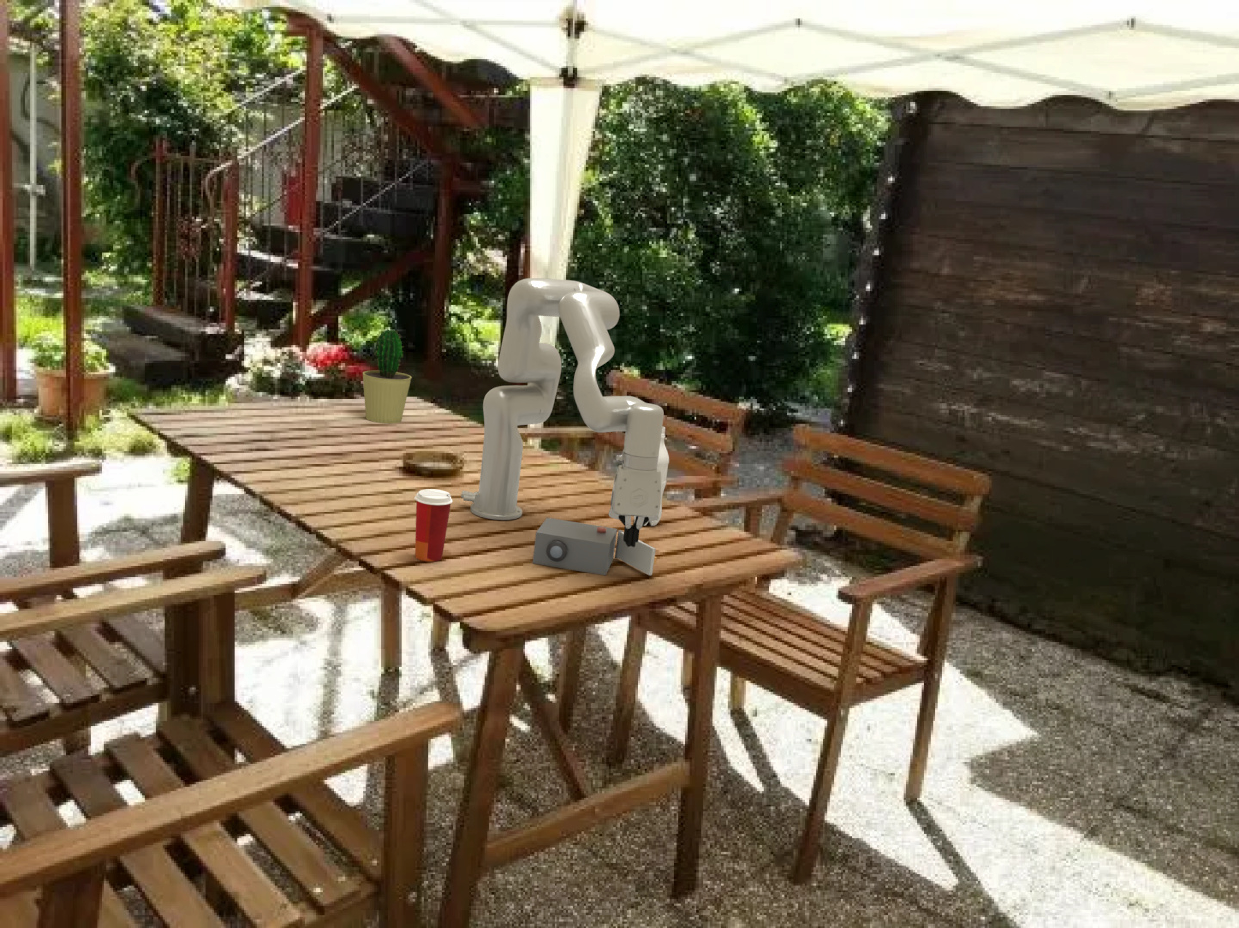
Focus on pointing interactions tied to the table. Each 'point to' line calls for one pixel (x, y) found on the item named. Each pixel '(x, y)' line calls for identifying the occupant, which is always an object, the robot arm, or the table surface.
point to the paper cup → (431, 523)
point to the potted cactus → (386, 382)
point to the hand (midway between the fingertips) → (630, 544)
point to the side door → (636, 554)
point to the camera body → (574, 546)
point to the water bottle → (663, 467)
